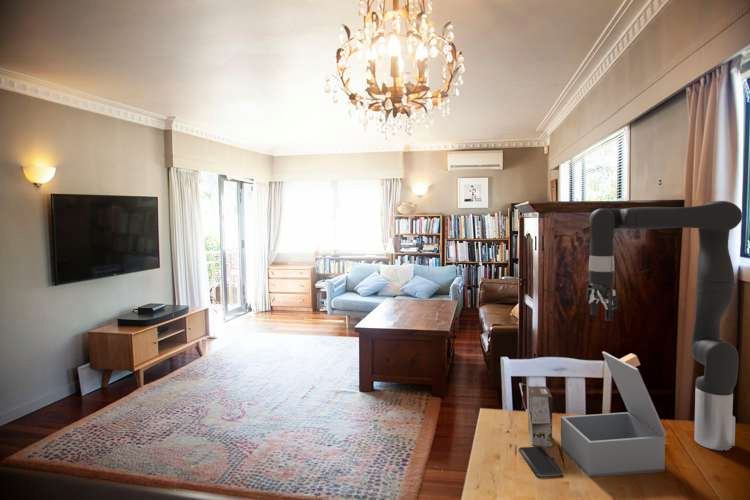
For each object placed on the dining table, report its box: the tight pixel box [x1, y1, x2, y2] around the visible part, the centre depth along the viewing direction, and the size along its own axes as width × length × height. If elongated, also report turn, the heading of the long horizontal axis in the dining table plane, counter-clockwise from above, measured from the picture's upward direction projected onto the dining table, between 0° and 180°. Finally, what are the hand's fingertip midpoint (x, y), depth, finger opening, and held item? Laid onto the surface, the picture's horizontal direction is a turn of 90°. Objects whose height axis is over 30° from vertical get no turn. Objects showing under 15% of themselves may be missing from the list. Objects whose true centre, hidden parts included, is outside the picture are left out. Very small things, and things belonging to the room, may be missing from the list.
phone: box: [518, 446, 564, 479], centre depth 132 cm, size 8×1×15 cm
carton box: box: [560, 411, 666, 478], centre depth 132 cm, size 22×16×10 cm
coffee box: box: [527, 385, 553, 447], centre depth 144 cm, size 9×6×16 cm
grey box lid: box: [601, 351, 667, 438], centre depth 131 cm, size 22×16×5 cm
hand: (601, 317), depth 148 cm, fingers open, 8 cm apart
